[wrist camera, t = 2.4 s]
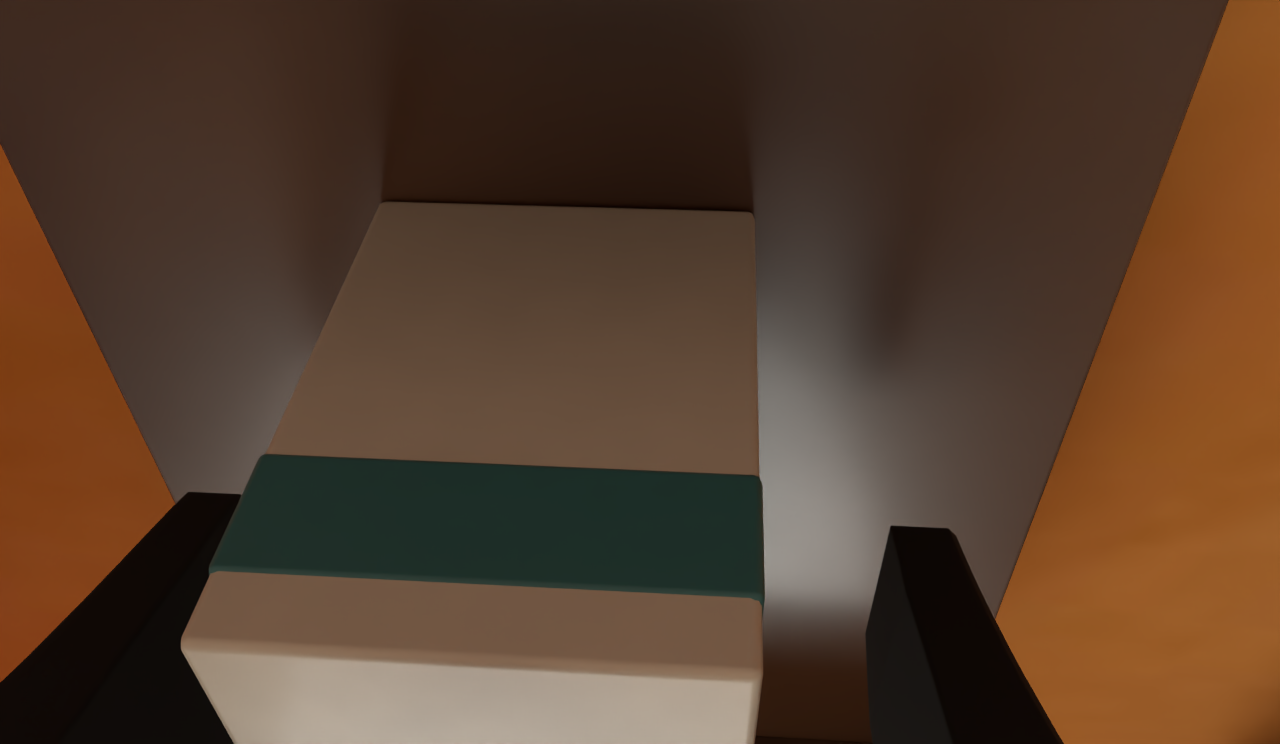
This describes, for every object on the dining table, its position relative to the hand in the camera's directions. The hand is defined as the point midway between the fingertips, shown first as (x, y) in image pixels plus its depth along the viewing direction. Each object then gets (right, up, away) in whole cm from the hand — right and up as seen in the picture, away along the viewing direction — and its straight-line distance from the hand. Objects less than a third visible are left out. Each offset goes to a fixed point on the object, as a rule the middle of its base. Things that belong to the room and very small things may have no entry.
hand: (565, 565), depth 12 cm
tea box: (0, +1, +2) cm, 2 cm away
